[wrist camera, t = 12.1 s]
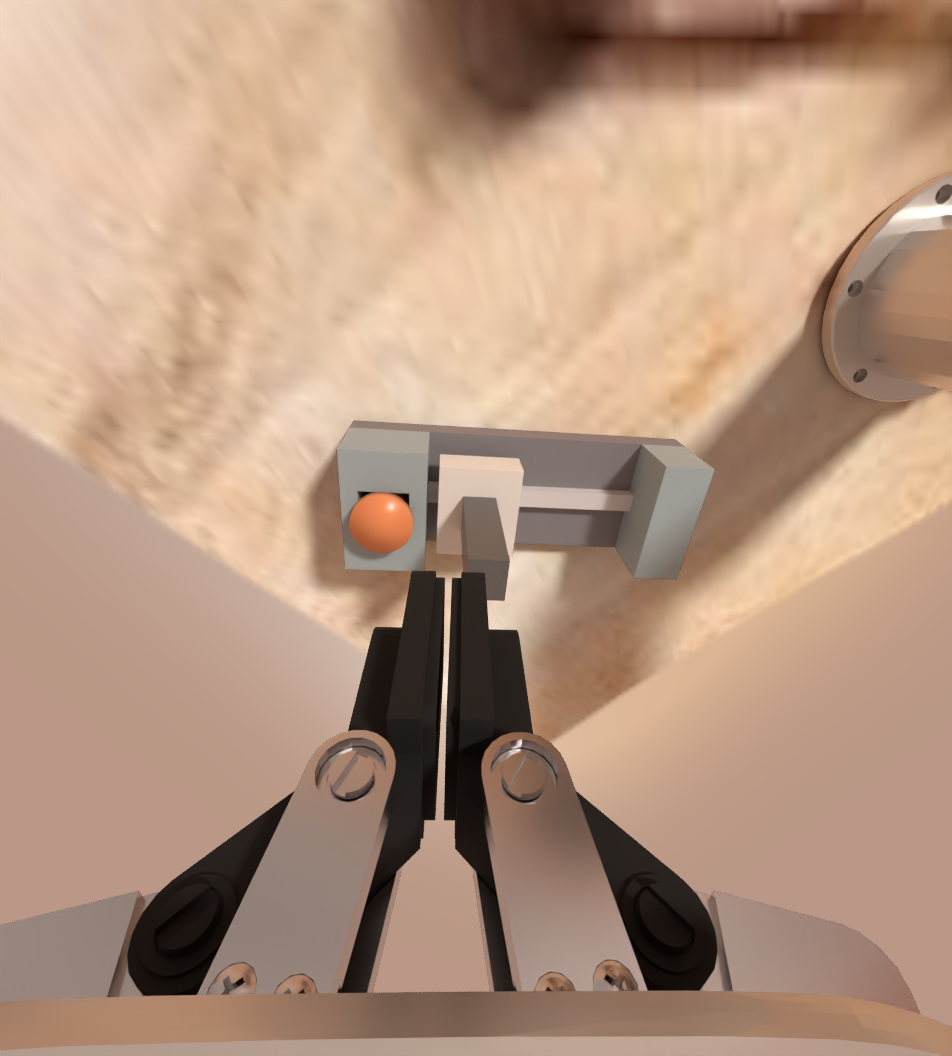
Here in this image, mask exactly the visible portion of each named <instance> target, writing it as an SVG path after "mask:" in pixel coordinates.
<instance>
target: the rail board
mask: <svg viewBox="0 0 952 1056" xmlns="http://www.w3.org/2000/svg"><path fill="white" fill-rule="evenodd" d="M440 454H446V455H465V456H484V457H502V458H519V460H520V463H521V465H522V468H523V470H524V475H523V483H522V490H521V497H520V505H519V512H518V519H517V527H516V534H515V541H514V543H519V544H546V545H573V546H600V547H615V548H616V550H617V551H618V553H619V555H620V556H621V558H622V560H623V561H624V563H625V564H626V566H627V568H628V569H629V571H630V573H631V574H632V576H633V578H642V579H674V580H677V577H678V574H679V571H680V568H681V566H682V563H683V560H684V557H685V554H686V551H687V548H688V546H689V543H690V540H691V537H692V534H693V531H694V528H695V525H696V523H697V520H698V517H699V514H700V511H701V508H702V505H703V502H704V500H705V497H706V494H707V491H708V488H709V485H710V482H711V479H712V477H713V474H714V471H715V469H714V468H713V467H711V466H710V465H709V464H707V463H706V462H705V461H703V460H702V459H701V458H699V457H698V456H697V455H695V454H694V453H693V452H691V451H690V450H689V449H687V448H686V447H685V446H683V445H682V444H681V443H679V442H678V441H677V440H675V439H658V438H641V437H624V436H607V435H590V434H573V433H556V432H539V431H522V430H505V429H488V428H471V427H453V426H436V425H419V424H402V423H385V422H368V421H353V423H352V425H351V426H350V428H349V430H348V431H347V433H346V435H345V436H344V438H343V440H342V441H341V443H340V445H339V446H338V448H337V459H338V473H339V487H340V501H341V515H342V530H343V544H344V558H345V569H356V570H388V571H424V569H425V555H426V540H437V516H438V492H439V469H440ZM372 492H388V493H407V494H406V499H405V502H406V503H407V504H408V505H409V507H410V509H411V511H412V513H413V519H414V522H413V531H412V535H411V537H410V539H409V541H408V542H407V543H406V544H405V545H404V546H403V547H401V548H400V549H398V550H395V551H392V552H387V553H380V552H374V551H371V550H368V549H366V548H364V547H363V546H361V545H360V544H359V543H358V542H357V541H356V540H355V539H354V537H353V536H352V534H351V531H350V527H349V520H350V516H351V513H352V510H353V508H354V506H355V504H356V503H357V502H358V501H359V500H360V499H361V498H362V497H363V496H365V495H367V494H370V493H372Z"/></svg>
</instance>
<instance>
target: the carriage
mask: <svg viewBox="0 0 952 1056" xmlns="http://www.w3.org/2000/svg"><path fill="white" fill-rule="evenodd" d="M523 475H524V470H523V468H522V465H521V463H520V460H519V458H502V457H484V456H465V455H446V454H440V469H439V492H438V516H437V541H436V554H452V555H462V558H463V572H484V573H485V581H486V596H487V600H500V601H504V600H505V593H506V585H507V578H508V570H509V563H510V560H509V557H512V556H513V549H514V541H515V534H516V527H517V519H518V512H519V505H520V497H521V490H522V483H523Z"/></svg>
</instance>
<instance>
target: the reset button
mask: <svg viewBox="0 0 952 1056" xmlns="http://www.w3.org/2000/svg"><path fill="white" fill-rule="evenodd" d="M406 494H407V493H388V492H372V493H370V494H367V495H365V496H363V497H362V498H361V499H360V500H359V501H358V502H357V503H356V504H355V506H354V508H353V510H352V513H351V516H350V520H349V527H350V531H351V534H352V536H353V537H354V539H355V540H356V541H357V542H358V543H359V544H360V545H361V546H363V547H364V548H366V549H368V550H371V551H374V552H380V553H387V552H392V551H395V550H398V549H400V548H401V547H403V546H404V545H405V544H406V543H407V542H408V541H409V539H410V537H411V535H412V531H413V522H414V519H413V513H412V511H411V509H410V507H409V505H408V504H407V503H406V502H405V499H406Z"/></svg>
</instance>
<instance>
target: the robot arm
mask: <svg viewBox="0 0 952 1056" xmlns="http://www.w3.org/2000/svg"><path fill="white" fill-rule="evenodd" d="M822 345H823V353H824V356H825V360H826V363H827V366H828V368H829V370H830V371H831V373H832V374H833V376H834V377H835V379H836V380H837V381H838V382H839V383H840V384H841V385H842V386H843V387H845V388H846V389H847V390H849V391H851V392H853V393H855V394H857V395H859V396H862V397H866V398H869V399H873V400H876V401H884V402H901V401H908V400H914V399H918V398H921V397H924V396H928V395H931V394H933V393H936V392H938V391H940V390H942V389H943V390H947V391H951V392H952V172H950V173H947V174H944V175H941V176H938V177H935V178H933V179H931V180H930V181H928V182H926V183H924V184H922V185H920V186H919V187H917V188H915V189H913V190H911V191H910V192H909V193H907V194H906V195H905V196H903V197H902V198H901V199H899V200H898V201H897V202H895V203H894V204H893V205H891V206H890V207H889V208H888V209H887V210H886V211H885V212H884V213H883V214H882V215H881V216H880V217H879V218H878V219H877V220H876V221H875V222H874V223H873V224H872V225H871V226H870V227H869V228H868V229H867V231H866V232H865V233H864V234H863V236H862V237H861V238H860V239H859V241H858V242H857V243H856V244H855V246H854V247H853V248H852V250H851V252H850V253H849V255H848V257H847V258H846V260H845V262H844V263H843V265H842V267H841V268H840V270H839V272H838V274H837V277H836V279H835V281H834V283H833V286H832V288H831V290H830V293H829V296H828V300H827V304H826V307H825V311H824V315H823V325H822ZM444 598H445V578H438V577H436V571H412V573H411V579H410V585H409V591H408V596H407V602H406V608H405V614H404V620H403V625H402V628H395V627H375V629H374V631H373V634H372V637H371V641H370V645H369V649H368V653H367V657H366V662H365V666H364V670H363V673H362V678H361V682H360V685H359V690H358V694H357V697H356V702H355V706H354V709H353V714H352V717H351V721H350V725H349V729H348V732H344V733H340V734H338V735H336V736H334V737H332V738H330V739H329V740H327V741H326V742H325V743H323V744H322V745H321V746H320V747H319V748H318V749H317V750H316V751H315V753H314V754H313V756H312V757H311V759H310V760H309V762H308V764H307V766H306V768H305V770H304V772H303V774H302V776H301V779H300V781H299V783H298V785H297V787H296V789H295V791H294V792H292V793H291V794H290V795H288V796H287V797H286V798H284V799H283V800H282V801H280V802H279V803H277V804H276V805H275V806H273V807H272V808H271V809H269V810H268V811H266V812H265V813H264V814H263V815H261V816H260V817H258V818H257V819H255V820H254V821H253V822H252V823H250V824H249V825H247V826H246V827H245V828H243V829H242V830H240V831H239V832H238V833H236V834H235V835H234V836H232V837H231V838H230V839H228V840H227V841H226V842H224V843H223V844H221V845H220V846H219V847H217V848H216V849H215V850H213V851H212V852H211V853H209V854H208V855H206V856H205V857H204V858H202V859H201V860H200V861H198V862H197V863H196V864H194V865H193V866H191V867H190V868H189V869H187V870H186V871H185V872H183V873H182V874H180V875H179V876H178V877H176V878H175V879H174V880H172V881H171V882H170V883H169V884H168V885H167V886H166V887H165V888H163V889H162V890H161V891H160V892H157V893H153V894H150V895H145V896H142V895H141V893H140V892H139V891H135V892H132V893H128V894H124V895H120V896H115V897H111V898H107V899H103V900H99V901H95V902H91V903H87V904H83V905H79V906H75V907H71V908H67V909H63V910H58V911H54V912H50V913H46V914H43V915H38V916H35V917H30V918H26V919H22V920H18V921H14V922H10V923H6V924H2V925H0V1056H952V1026H949V1025H946V1024H944V1023H941V1022H939V1021H936V1020H934V1019H931V1018H928V1017H926V1016H923V1015H921V1014H920V1011H919V1009H918V1007H917V1004H916V1002H915V1000H914V998H913V995H912V993H911V991H910V989H909V988H908V986H907V984H906V982H905V980H904V979H903V977H902V975H901V973H900V972H899V970H898V968H897V967H896V966H895V965H894V964H893V962H892V961H891V960H890V959H889V958H888V957H887V956H886V955H885V953H884V952H883V951H882V950H881V949H880V948H879V947H878V946H877V945H876V944H874V943H873V942H872V941H870V940H869V939H868V938H867V937H865V936H864V935H863V934H861V933H860V932H858V931H856V930H853V929H851V928H849V927H847V926H845V925H842V924H840V923H836V922H832V921H828V920H825V919H821V918H817V917H813V916H809V915H806V914H802V913H798V912H795V911H791V910H787V909H783V908H779V907H775V906H771V905H768V904H764V903H761V902H757V901H753V900H749V899H745V898H742V897H738V896H734V895H730V894H727V893H723V892H719V891H715V890H714V891H713V892H712V894H711V895H707V894H704V893H700V892H696V891H693V890H692V889H691V888H690V887H689V886H688V884H687V883H685V881H684V880H682V879H681V878H680V877H679V876H678V875H677V874H675V873H674V872H673V871H672V870H671V869H669V868H668V867H667V866H666V865H664V864H663V863H662V862H661V861H659V860H658V859H657V858H656V857H655V856H654V855H652V854H651V853H650V852H649V851H648V850H646V849H645V848H644V847H643V846H641V845H640V844H639V843H638V842H637V841H636V840H634V839H633V838H632V837H631V836H629V835H628V834H627V833H626V832H625V831H623V830H622V829H621V828H620V827H619V826H617V825H616V824H615V823H614V822H613V821H611V820H610V819H609V818H608V817H607V816H605V815H604V814H603V813H602V812H601V811H599V810H598V809H597V808H596V807H595V806H593V805H592V804H591V803H590V802H589V801H587V800H586V799H585V798H584V797H583V796H581V795H580V794H579V793H578V792H576V790H575V787H574V785H573V782H572V779H571V776H570V774H569V771H568V768H567V765H566V763H565V761H564V759H563V757H562V756H561V754H560V752H559V751H558V750H557V749H556V748H555V747H554V746H553V745H552V744H551V743H550V742H548V741H547V740H545V739H543V738H542V737H540V736H537V735H534V734H533V730H532V723H531V716H530V709H529V703H528V696H527V689H526V682H525V675H524V668H523V661H522V654H521V647H520V640H519V634H518V631H517V630H489V627H488V612H487V596H486V581H485V573H484V572H462V574H461V578H452V596H451V620H450V645H449V669H448V693H447V722H446V762H445V803H444V820H455V849H456V850H457V851H458V852H459V853H460V854H461V855H462V857H463V858H464V859H465V860H466V861H467V862H468V863H469V864H470V865H471V866H472V868H473V879H474V886H475V892H476V899H477V907H478V914H479V921H480V928H481V935H482V940H483V948H484V955H485V962H486V969H487V976H488V983H489V990H490V992H405V993H404V992H403V993H373V990H374V986H375V982H376V977H377V974H378V969H379V965H380V961H381V957H382V953H383V948H384V944H385V940H386V936H387V931H388V927H389V923H390V919H391V914H392V910H393V906H394V902H395V898H396V894H397V889H398V885H399V881H400V876H401V868H402V866H403V865H404V864H405V863H406V862H407V861H408V860H409V859H410V858H411V857H412V856H413V855H414V854H415V853H416V852H417V851H418V850H419V849H420V841H421V839H422V838H423V833H424V820H435V813H436V812H435V811H436V795H437V794H436V793H437V776H438V758H439V739H440V721H441V720H440V719H441V702H442V684H443V656H444Z"/></svg>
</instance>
